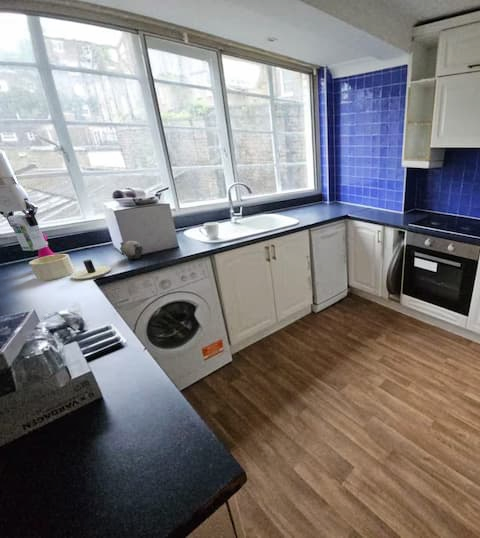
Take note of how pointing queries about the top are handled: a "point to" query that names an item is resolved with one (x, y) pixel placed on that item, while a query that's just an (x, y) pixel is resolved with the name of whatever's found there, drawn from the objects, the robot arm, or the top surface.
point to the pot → (52, 267)
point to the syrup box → (27, 233)
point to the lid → (90, 271)
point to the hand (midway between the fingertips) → (24, 225)
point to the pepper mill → (45, 250)
